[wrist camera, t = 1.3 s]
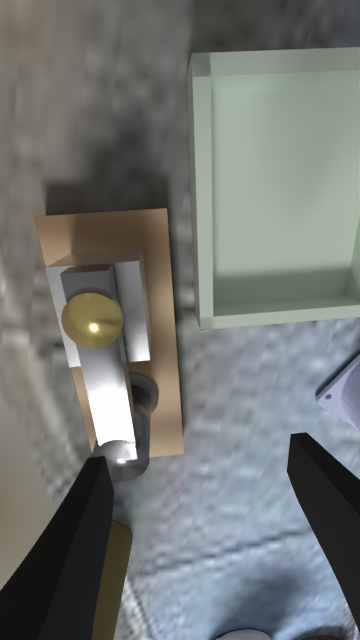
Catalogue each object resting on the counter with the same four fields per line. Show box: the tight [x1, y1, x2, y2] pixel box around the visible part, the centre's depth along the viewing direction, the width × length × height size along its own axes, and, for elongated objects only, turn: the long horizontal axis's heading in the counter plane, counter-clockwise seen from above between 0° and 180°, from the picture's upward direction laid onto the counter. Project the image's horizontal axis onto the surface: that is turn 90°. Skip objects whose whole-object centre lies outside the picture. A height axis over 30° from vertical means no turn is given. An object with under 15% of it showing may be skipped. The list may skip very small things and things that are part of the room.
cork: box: [92, 521, 132, 640], centre depth 23 cm, size 6×6×11 cm
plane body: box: [34, 208, 184, 457], centre depth 19 cm, size 18×7×2 cm, turn 3°
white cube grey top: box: [45, 248, 152, 367], centre depth 15 cm, size 5×4×4 cm
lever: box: [60, 264, 151, 481], centre depth 15 cm, size 12×3×5 cm, turn 3°
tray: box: [186, 47, 360, 330], centre depth 16 cm, size 13×11×2 cm
